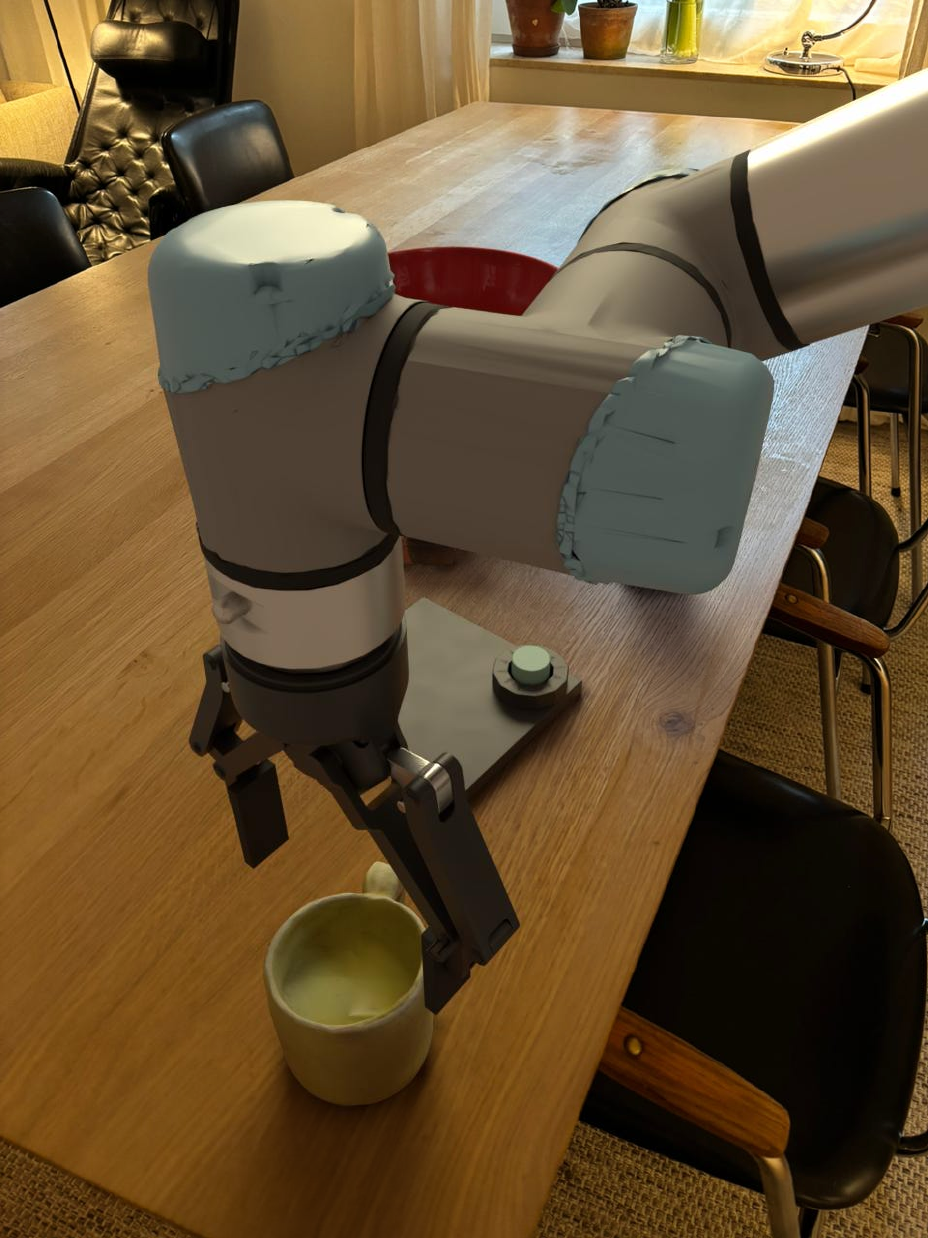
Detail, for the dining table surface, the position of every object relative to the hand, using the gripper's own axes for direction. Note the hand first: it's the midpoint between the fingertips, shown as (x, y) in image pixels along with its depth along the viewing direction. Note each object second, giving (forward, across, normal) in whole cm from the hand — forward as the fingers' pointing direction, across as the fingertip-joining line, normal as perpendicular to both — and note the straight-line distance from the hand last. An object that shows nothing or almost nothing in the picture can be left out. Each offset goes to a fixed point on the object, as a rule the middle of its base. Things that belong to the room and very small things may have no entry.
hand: (352, 917), depth 54 cm
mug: (+10, 0, 0) cm, 10 cm away
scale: (+10, -14, +23) cm, 29 cm away
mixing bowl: (+10, -43, +58) cm, 73 cm away
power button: (+7, -8, +28) cm, 30 cm away
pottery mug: (+10, -28, +39) cm, 49 cm away
